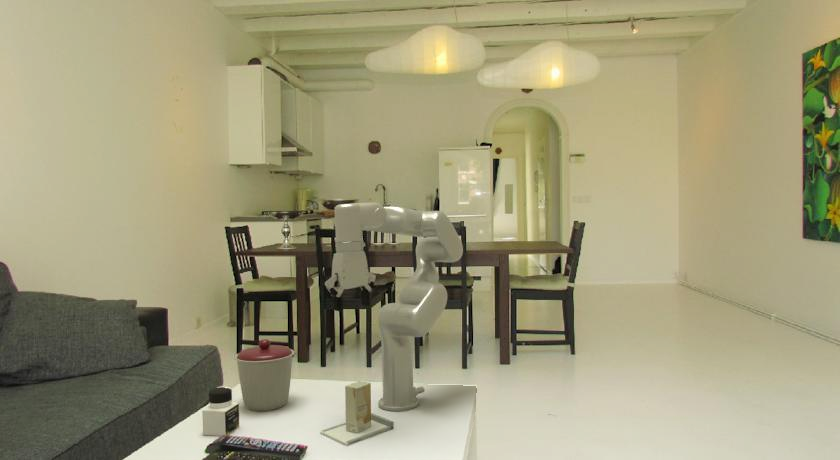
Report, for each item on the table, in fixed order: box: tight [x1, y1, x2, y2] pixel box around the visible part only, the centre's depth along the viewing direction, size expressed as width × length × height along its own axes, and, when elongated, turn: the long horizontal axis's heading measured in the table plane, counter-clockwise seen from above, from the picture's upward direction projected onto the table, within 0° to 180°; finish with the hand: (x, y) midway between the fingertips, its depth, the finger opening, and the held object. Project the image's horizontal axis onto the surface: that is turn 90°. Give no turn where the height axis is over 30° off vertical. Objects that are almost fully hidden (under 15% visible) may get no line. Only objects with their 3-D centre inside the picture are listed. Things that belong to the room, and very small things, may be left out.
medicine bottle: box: [201, 386, 240, 437], centre depth 155 cm, size 7×7×12 cm
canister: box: [234, 338, 295, 412], centre depth 176 cm, size 18×18×21 cm
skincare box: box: [344, 380, 372, 433], centre depth 153 cm, size 6×4×12 cm
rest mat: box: [319, 412, 395, 447], centre depth 153 cm, size 16×12×2 cm
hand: (352, 308), depth 158 cm, fingers open, 9 cm apart
